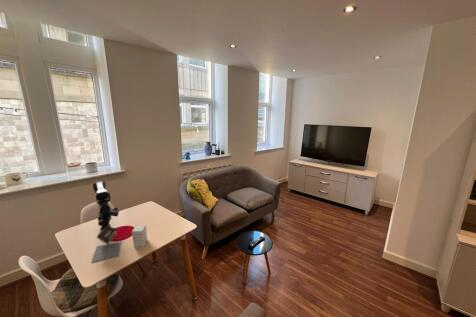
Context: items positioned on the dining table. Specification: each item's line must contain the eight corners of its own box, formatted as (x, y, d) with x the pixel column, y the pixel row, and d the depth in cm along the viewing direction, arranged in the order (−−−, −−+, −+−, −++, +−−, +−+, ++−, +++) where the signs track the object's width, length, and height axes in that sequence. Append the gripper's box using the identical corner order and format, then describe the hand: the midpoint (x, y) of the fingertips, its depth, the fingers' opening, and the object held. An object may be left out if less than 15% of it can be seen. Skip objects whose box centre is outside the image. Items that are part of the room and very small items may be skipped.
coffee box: (108, 244, 142) (105, 241, 130) (100, 240, 142) (96, 237, 129) (117, 233, 148) (115, 229, 135) (109, 229, 147) (106, 224, 135)
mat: (96, 247, 140) (96, 246, 140) (120, 241, 147) (120, 240, 147) (91, 262, 125) (91, 262, 125) (118, 255, 132) (118, 255, 132)
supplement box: (137, 240, 148) (135, 225, 146) (147, 240, 149) (146, 225, 146) (133, 246, 141) (131, 231, 139) (143, 246, 142) (142, 230, 139)
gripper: (115, 211, 134) (119, 231, 137) (118, 201, 150) (121, 219, 153) (96, 214, 129) (100, 235, 132) (101, 204, 146) (104, 223, 149)
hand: (107, 228), depth 142 cm, fingers closed
